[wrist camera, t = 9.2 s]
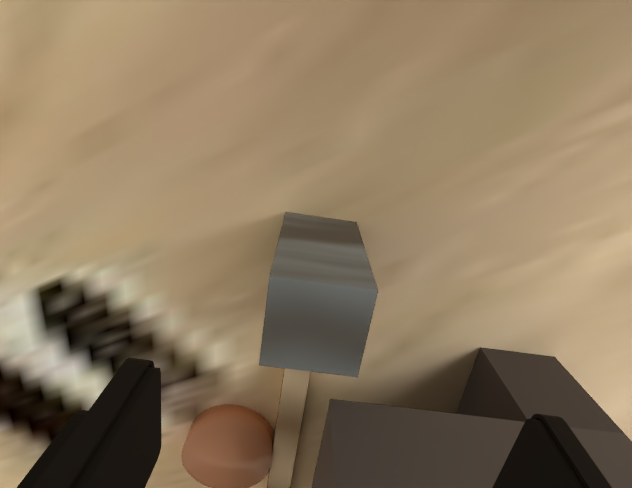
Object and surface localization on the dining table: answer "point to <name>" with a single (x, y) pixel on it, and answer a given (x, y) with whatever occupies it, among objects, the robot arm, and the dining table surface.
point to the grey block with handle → (313, 318)
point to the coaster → (228, 447)
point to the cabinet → (466, 430)
